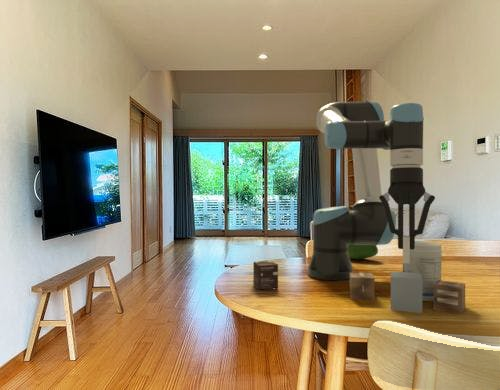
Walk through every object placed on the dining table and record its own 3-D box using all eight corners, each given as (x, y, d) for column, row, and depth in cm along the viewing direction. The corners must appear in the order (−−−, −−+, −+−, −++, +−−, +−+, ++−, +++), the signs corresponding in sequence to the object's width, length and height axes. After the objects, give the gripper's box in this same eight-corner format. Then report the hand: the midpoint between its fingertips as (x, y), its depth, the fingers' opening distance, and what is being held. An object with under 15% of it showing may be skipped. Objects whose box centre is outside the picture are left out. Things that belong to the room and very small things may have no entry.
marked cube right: (433, 309, 90) (433, 284, 90) (438, 303, 95) (438, 279, 95) (461, 314, 86) (461, 288, 86) (465, 307, 91) (465, 282, 91)
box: (258, 290, 106) (258, 265, 106) (253, 285, 112) (253, 261, 112) (278, 289, 108) (278, 264, 108) (271, 284, 114) (271, 260, 114)
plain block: (390, 309, 89) (390, 277, 89) (391, 301, 96) (391, 271, 96) (422, 313, 87) (422, 279, 87) (420, 304, 93) (420, 273, 93)
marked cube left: (351, 302, 95) (351, 278, 95) (349, 293, 104) (349, 271, 104) (375, 303, 94) (375, 279, 94) (371, 294, 102) (371, 272, 102)
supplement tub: (396, 292, 104) (396, 240, 104) (427, 291, 105) (427, 240, 105) (414, 302, 95) (414, 246, 94) (449, 301, 96) (449, 245, 95)
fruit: (382, 260, 152) (382, 236, 152) (371, 263, 145) (371, 238, 144) (348, 255, 162) (348, 233, 162) (337, 258, 155) (337, 235, 155)
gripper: (377, 167, 90) (377, 263, 90) (437, 165, 85) (437, 267, 85) (379, 168, 97) (379, 258, 97) (434, 167, 92) (433, 261, 92)
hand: (406, 262), depth 91 cm, fingers closed
